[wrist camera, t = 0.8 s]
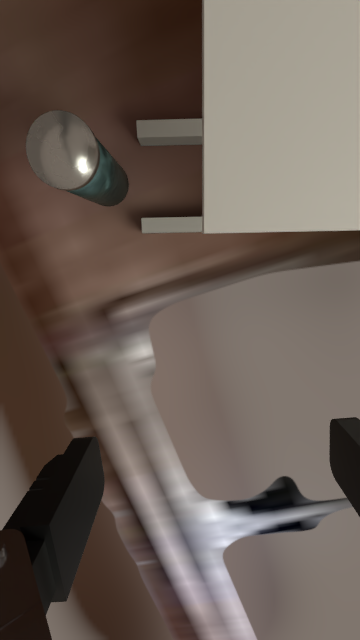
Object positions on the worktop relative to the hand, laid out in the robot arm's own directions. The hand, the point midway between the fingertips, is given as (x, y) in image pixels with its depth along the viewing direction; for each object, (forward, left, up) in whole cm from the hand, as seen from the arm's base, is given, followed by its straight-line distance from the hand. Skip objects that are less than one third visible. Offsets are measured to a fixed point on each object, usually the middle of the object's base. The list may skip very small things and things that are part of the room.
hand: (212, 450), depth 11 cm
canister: (-14, +9, -30) cm, 34 cm away
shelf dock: (-2, +13, -30) cm, 33 cm away
